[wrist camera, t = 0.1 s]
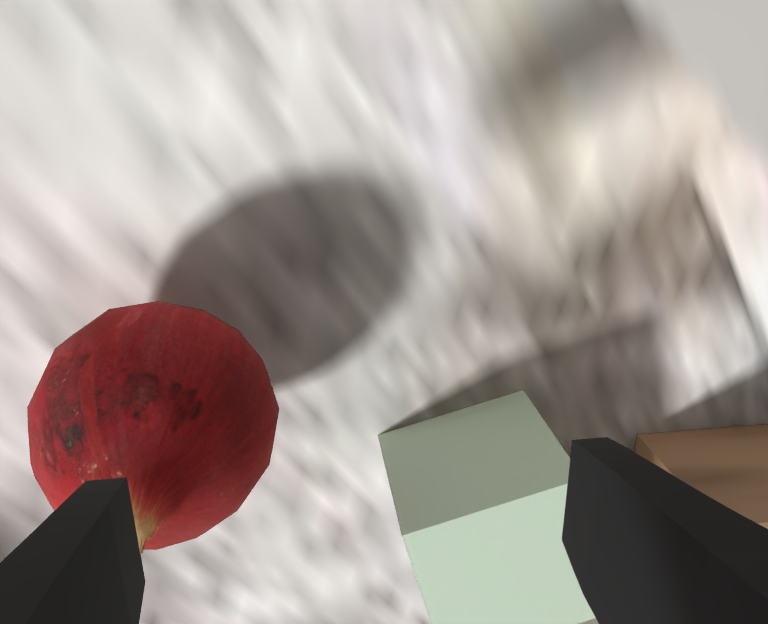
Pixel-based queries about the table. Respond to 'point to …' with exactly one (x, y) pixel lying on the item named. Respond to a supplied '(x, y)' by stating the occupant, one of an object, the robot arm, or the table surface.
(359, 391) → the table surface
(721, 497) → the walnut cube
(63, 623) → the robot arm
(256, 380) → the onion
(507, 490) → the sage cube
